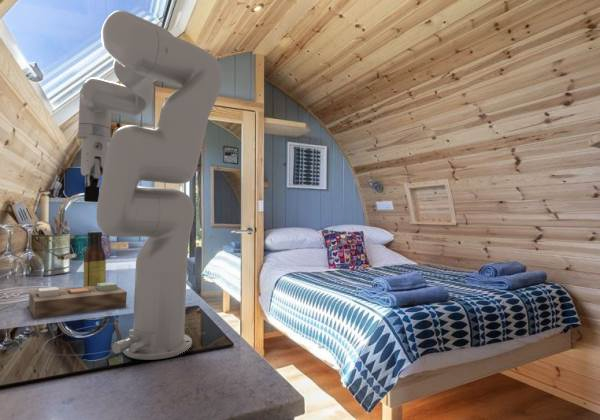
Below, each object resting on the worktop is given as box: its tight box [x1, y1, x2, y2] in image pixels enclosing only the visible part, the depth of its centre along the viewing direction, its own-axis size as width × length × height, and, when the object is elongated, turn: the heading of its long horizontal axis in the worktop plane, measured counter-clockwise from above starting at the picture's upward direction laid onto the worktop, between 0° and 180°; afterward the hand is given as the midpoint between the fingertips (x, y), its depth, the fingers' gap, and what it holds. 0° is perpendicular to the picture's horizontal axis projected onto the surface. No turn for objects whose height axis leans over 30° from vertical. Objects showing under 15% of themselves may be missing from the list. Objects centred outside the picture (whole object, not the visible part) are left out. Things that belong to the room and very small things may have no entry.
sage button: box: [97, 281, 118, 291], centre depth 105 cm, size 4×4×3 cm
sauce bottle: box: [83, 231, 107, 287], centre depth 117 cm, size 6×6×20 cm
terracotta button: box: [69, 288, 89, 294], centre depth 100 cm, size 4×4×3 cm
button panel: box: [28, 285, 128, 319], centre depth 100 cm, size 21×14×4 cm, turn 131°
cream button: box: [37, 286, 60, 298], centre depth 96 cm, size 4×4×3 cm
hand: (91, 201), depth 97 cm, fingers closed
